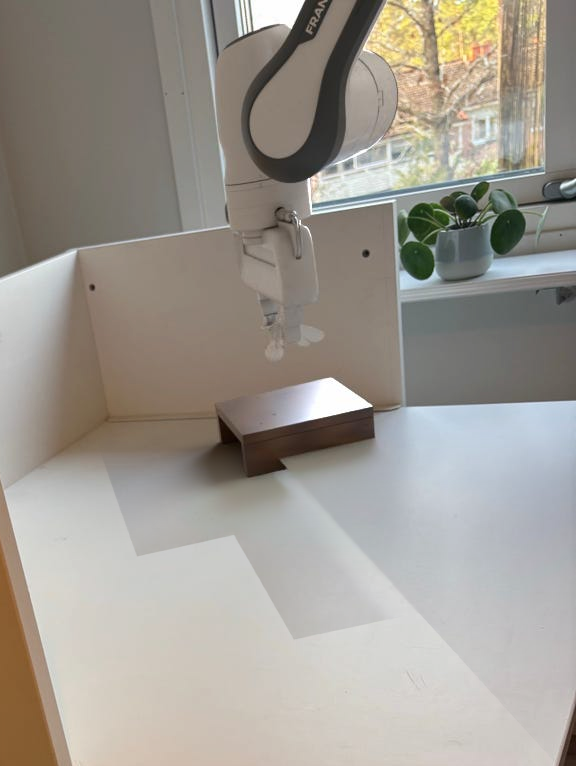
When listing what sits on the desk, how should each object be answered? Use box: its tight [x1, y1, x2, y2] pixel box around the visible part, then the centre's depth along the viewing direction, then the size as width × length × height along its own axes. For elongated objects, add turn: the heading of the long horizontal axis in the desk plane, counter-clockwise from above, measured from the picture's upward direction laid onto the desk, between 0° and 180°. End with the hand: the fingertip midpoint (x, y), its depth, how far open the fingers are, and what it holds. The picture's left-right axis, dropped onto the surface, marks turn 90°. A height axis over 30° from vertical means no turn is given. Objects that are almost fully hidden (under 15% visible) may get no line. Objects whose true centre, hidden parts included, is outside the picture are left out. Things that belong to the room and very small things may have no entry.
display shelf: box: [214, 376, 376, 478], centre depth 115 cm, size 15×15×5 cm
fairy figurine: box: [259, 305, 326, 363], centre depth 110 cm, size 6×7×7 cm
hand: (282, 335), depth 110 cm, fingers closed on fairy figurine, 6 cm apart
